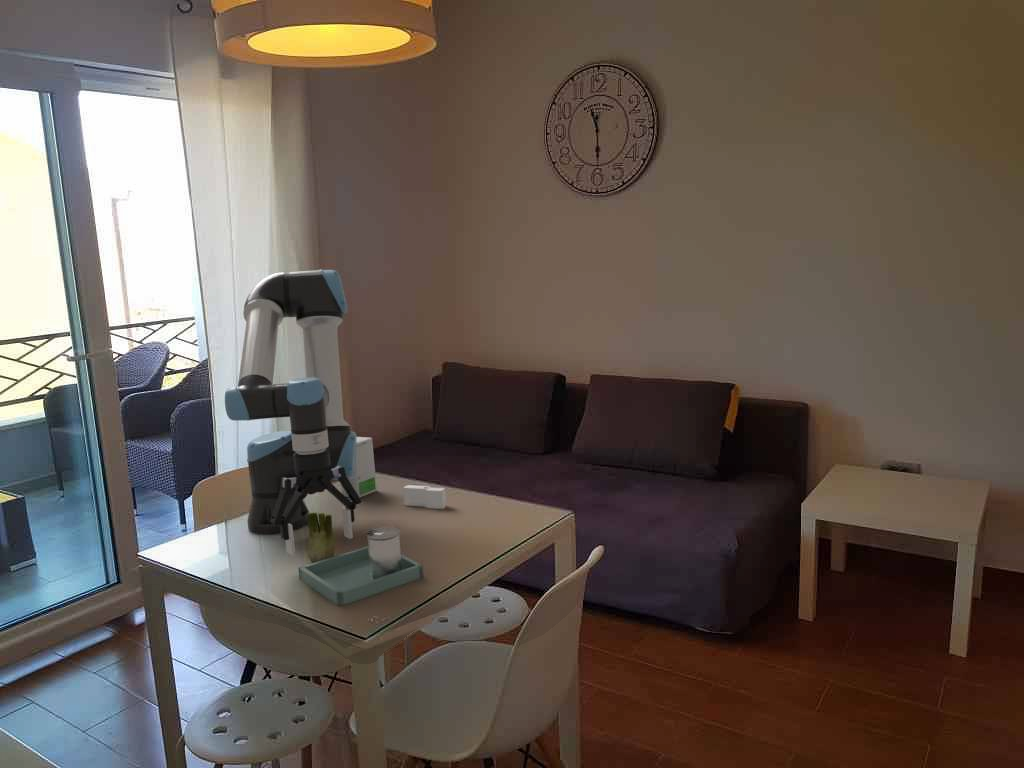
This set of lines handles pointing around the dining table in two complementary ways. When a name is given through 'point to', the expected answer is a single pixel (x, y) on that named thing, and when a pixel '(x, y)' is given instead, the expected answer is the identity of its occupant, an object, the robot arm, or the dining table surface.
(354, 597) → the tray
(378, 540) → the can
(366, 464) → the skincare box
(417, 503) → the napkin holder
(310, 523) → the fennel bulb
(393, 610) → the dining table surface
